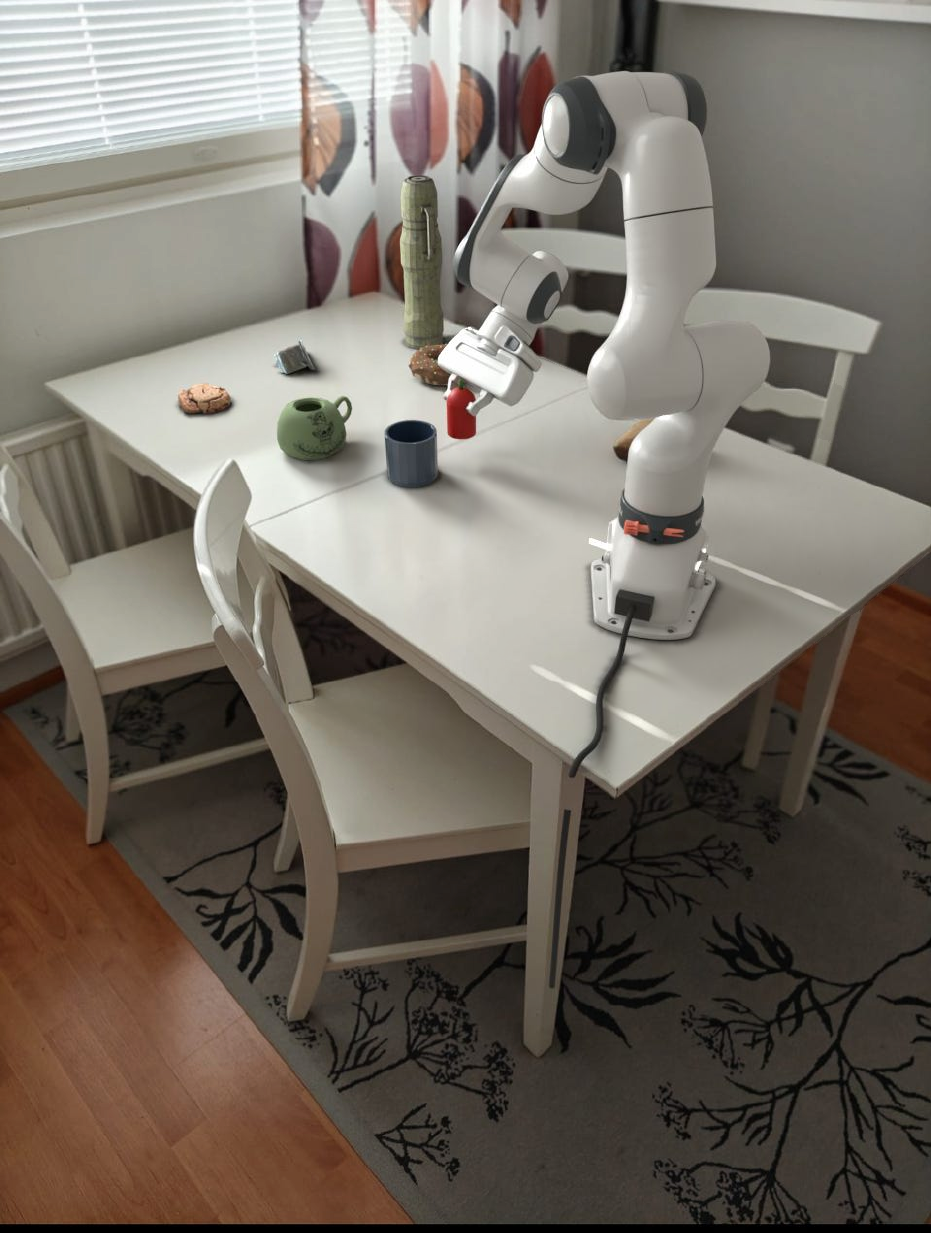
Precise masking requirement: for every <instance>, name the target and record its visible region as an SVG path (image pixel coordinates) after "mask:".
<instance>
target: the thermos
mask: <svg viewBox="0 0 931 1233" xmlns="http://www.w3.org/2000/svg"><path fill="white" fill-rule="evenodd" d="M400 191H401V192H400V205H401V206H400V209H401V218H402V224H401V229H402V230H401V234H400V238H399V247H400V248H399V249H400V265H401V266H402V268H403V285H404V286H403V288H404V290H403V291H404V311H403V313H402V319H403V333H404V338H405V339H404V343H405V345H406V346H407V347H409V348H411V349H415V350H420V348H421V347H422V348H423V347H425V346H430V345H432V346H434V345H441V344H444V331H445V330H444V329H445V327H444V326H445V322H444V311H443V308H442V305H441V303H442V302H441V301H442V300H441V296H442V295H441V266H442V264H443V255H442V254H443V252H442V249H443V247H442V236H441V232H440V230H439V223H438V217H439V211H438V210H439V206H438V205H439V204H438V203H439V202H438V191H437V187H436V184H435V181H434V179H433V177H430V176H428V175H425V174H414V175H410V176H408V177H407V178H404V179H403V183H402V187H401V190H400Z"/></svg>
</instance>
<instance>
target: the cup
mask: <svg viewBox="0 0 931 1233" xmlns="http://www.w3.org/2000/svg"><path fill="white" fill-rule="evenodd" d="M384 447H385V448H384V449H385V463H386V477H387V479H388V481H390V483H392V484H393V485H396V486H399V487H401V488H421V487H425V486H428V485H430V484H432V483H433V482H434V481H436V479H437V478H438V475H439V467H438V464H439V463H438V432H437V428H436V426H434V425H433V424H432V423H430V422H427V421H425V420H418V419H405V420H400V421H396V422H394V423H390V425H388V426H387V427H386V428H385V430H384Z"/></svg>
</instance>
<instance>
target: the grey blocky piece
mask: <svg viewBox="0 0 931 1233" xmlns="http://www.w3.org/2000/svg"><path fill="white" fill-rule="evenodd" d="M273 356H274V358H275V361H276V365H277V367H278V369H279V370H280V373H282V374H283V373H285V374H286V375H288V374H292V373H293V372H297V371H299V370H301V369H304V368H306V367H308V368H309V369H310V370H313V371H316V369H315V367H314V365H313V363H312V361H311V358H310V357H309V354H308V352H307V350H306V348H305V345H304V343H303V341H302V338H301V337H300V339H299V340H298V342H297V343H296V344H294V345H291V346H289V347H287V348H284V349H281V350H279V351H278V352H276V353H275V354H274V355H273Z"/></svg>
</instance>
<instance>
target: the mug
mask: <svg viewBox="0 0 931 1233" xmlns="http://www.w3.org/2000/svg"><path fill="white" fill-rule="evenodd" d="M343 402H345V403H346V404H345V405H346V407H347V408H346V412H345V413H344V415H342V413H341V412H340V410H339V408H340V406H341V405H342V403H343ZM352 412H353V406H352V401H350V399H349V397H348V396H345V395H341V396H339V397H338V398H337V399H336V400H334V401H333V402H331V401H329V400H328V399H325V398H322V397H315V396H311V397H310V396H309V397H308V396H307V397H301V398H297V399H294V400H292V401H291V402H289V403H287V404H286V405H285V406H284V408H283V409H282V410H281V412H280V413H279V416H278V420H277V422H276V423H277V425H276V441H277V443H278V447H279V449H280V450H281V451H282V452H283V453H284V454H286V455H287V456H289V457H292V458H294V459H297V460H303V461H316V460H322V459H325V458H329V457H331V456H333V455H335V454H337V453H338V452H339V451H340V450H342V449H343V447H344V446H345V445H346V441H347V429H346V425H345V424H346V422H347V421H348V420H349V419H350V417H351V415H352Z"/></svg>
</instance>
